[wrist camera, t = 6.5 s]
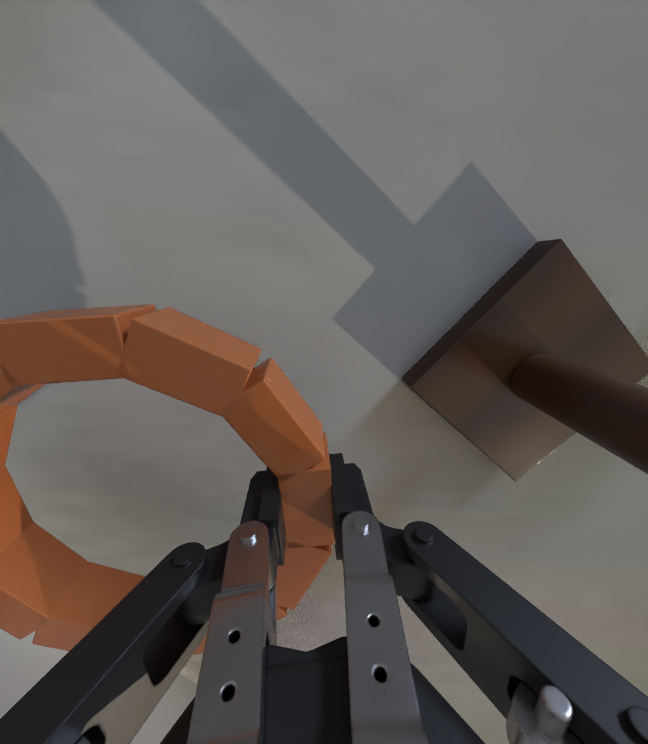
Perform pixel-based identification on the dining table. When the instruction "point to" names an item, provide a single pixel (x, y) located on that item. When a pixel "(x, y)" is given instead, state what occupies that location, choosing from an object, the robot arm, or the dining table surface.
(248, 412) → the hoop
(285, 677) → the robot arm
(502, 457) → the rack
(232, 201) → the dining table surface
